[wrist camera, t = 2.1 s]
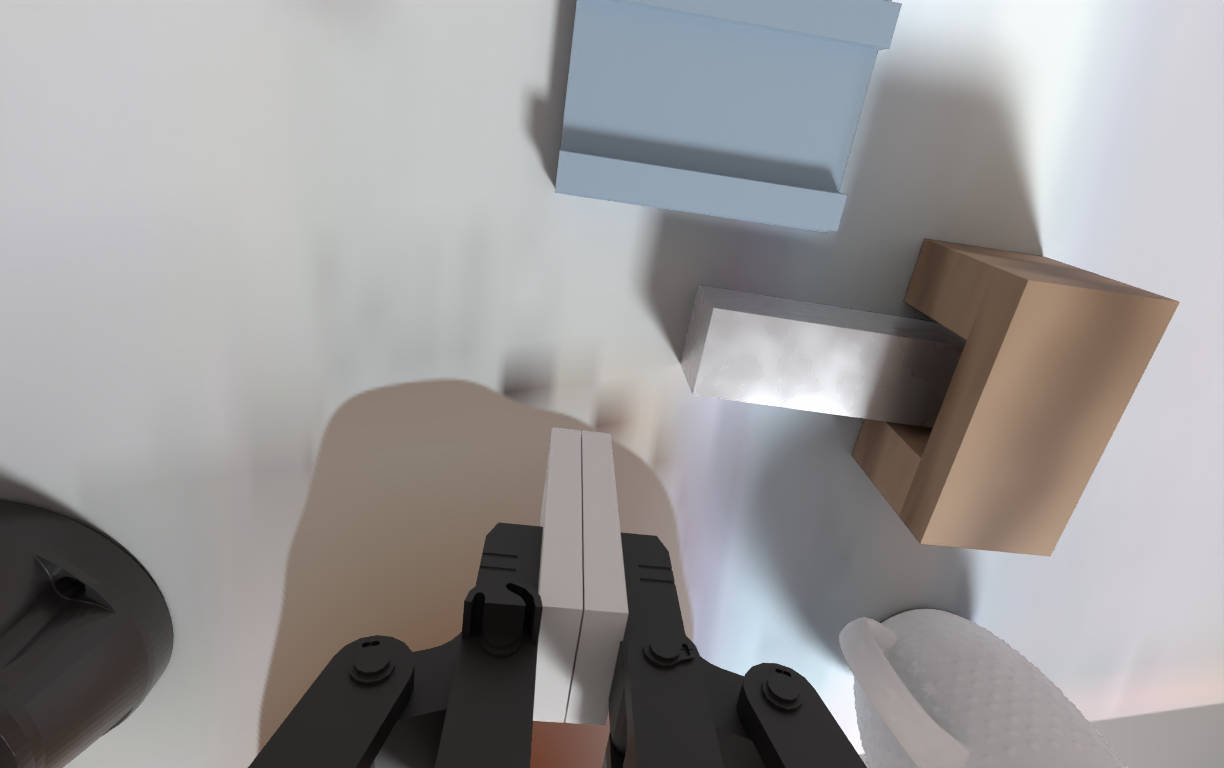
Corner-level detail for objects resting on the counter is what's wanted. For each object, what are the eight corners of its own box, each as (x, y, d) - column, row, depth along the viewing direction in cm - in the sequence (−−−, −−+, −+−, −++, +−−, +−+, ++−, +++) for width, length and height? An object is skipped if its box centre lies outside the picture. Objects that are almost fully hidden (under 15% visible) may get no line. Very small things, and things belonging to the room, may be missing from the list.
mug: (745, 625, 39) (820, 859, 27) (891, 508, 36) (1048, 712, 24) (894, 736, 43) (1015, 978, 31) (1034, 640, 41) (1226, 866, 29)
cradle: (555, 189, 28) (554, 195, 26) (583, -53, 25) (583, -66, 23) (819, 228, 30) (835, 237, 28) (881, 3, 26) (904, -4, 24)
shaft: (679, 361, 32) (692, 394, 28) (697, 283, 31) (713, 307, 27) (960, 401, 34) (1006, 438, 30) (990, 329, 32) (1043, 358, 29)
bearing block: (851, 455, 34) (920, 543, 28) (924, 238, 30) (1028, 280, 23) (957, 466, 35) (1050, 556, 28) (1044, 256, 31) (1179, 301, 24)
